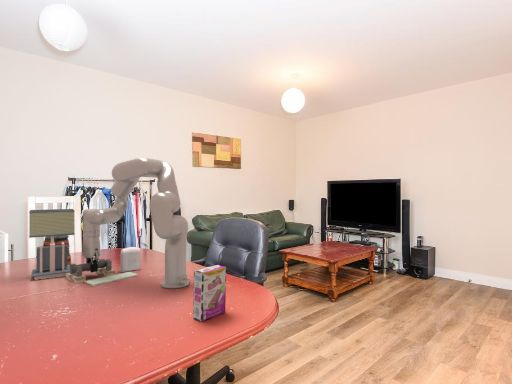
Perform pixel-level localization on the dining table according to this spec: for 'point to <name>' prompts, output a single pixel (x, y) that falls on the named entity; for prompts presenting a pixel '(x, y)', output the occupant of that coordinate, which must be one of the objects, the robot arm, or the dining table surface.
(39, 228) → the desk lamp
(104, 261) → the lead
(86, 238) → the robot arm
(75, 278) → the clamp board
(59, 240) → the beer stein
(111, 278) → the mat
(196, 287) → the candy bar box
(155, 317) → the dining table surface
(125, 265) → the photo printer
